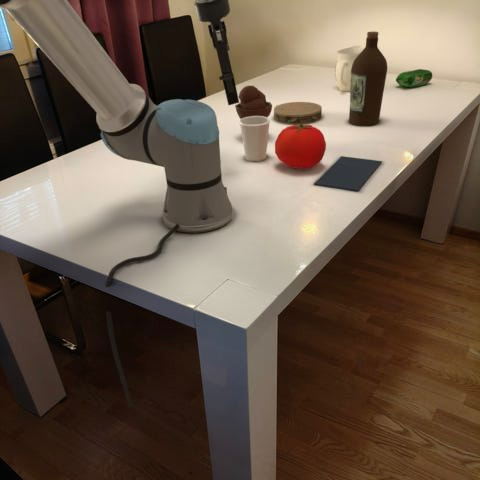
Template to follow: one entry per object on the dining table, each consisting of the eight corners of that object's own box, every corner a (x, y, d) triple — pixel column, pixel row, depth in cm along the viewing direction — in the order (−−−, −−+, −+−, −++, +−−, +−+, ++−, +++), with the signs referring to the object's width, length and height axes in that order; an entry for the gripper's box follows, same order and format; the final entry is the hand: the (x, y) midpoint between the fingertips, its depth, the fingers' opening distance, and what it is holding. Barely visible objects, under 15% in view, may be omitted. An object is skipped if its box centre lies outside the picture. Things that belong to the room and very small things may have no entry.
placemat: (358, 191, 114) (358, 190, 114) (314, 184, 118) (314, 183, 118) (381, 162, 128) (381, 161, 127) (341, 157, 132) (341, 156, 132)
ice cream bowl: (270, 144, 144) (269, 89, 135) (233, 143, 146) (229, 89, 137) (275, 132, 152) (274, 80, 143) (240, 132, 154) (237, 80, 145)
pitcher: (325, 94, 185) (327, 54, 177) (341, 83, 197) (344, 45, 189) (353, 96, 181) (357, 55, 172) (368, 85, 193) (372, 46, 185)
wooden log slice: (276, 126, 157) (276, 116, 156) (271, 112, 170) (271, 103, 168) (325, 123, 157) (325, 113, 155) (317, 109, 170) (317, 100, 168)
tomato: (333, 163, 129) (335, 121, 123) (311, 179, 121) (312, 135, 115) (289, 155, 136) (289, 115, 129) (265, 170, 128) (265, 128, 121)
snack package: (391, 87, 189) (393, 72, 186) (420, 80, 195) (422, 66, 191) (404, 91, 184) (406, 75, 181) (434, 84, 190) (437, 69, 186)
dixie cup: (238, 162, 133) (236, 125, 127) (243, 152, 139) (241, 115, 133) (269, 162, 132) (268, 124, 126) (272, 152, 138) (271, 115, 132)
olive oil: (366, 115, 162) (375, 28, 146) (387, 122, 154) (399, 31, 139) (340, 121, 158) (346, 32, 143) (361, 129, 150) (370, 36, 135)
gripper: (232, 11, 99) (251, 110, 115) (221, -25, 115) (239, 66, 131) (196, 21, 99) (220, 118, 115) (191, -16, 115) (212, 73, 132)
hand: (231, 91), depth 123 cm, fingers open, 13 cm apart
